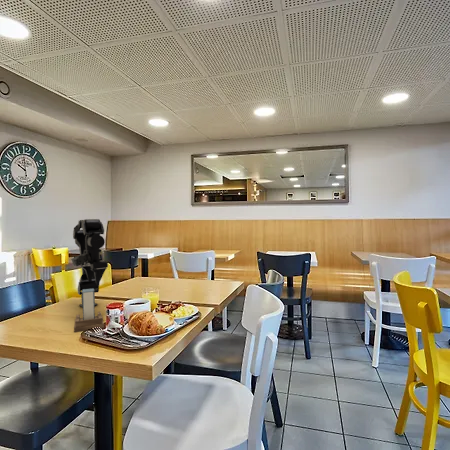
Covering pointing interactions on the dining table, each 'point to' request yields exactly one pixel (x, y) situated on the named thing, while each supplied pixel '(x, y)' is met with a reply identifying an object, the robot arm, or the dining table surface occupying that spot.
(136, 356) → the dining table surface
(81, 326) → the stand
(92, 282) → the robot arm
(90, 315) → the grey rectangular block
